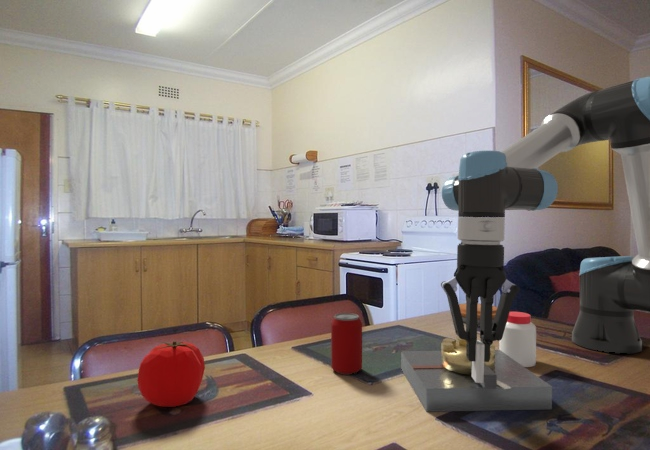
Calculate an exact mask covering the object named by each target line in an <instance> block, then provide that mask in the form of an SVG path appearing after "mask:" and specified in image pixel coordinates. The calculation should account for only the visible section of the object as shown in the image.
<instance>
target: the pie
mask: <svg viewBox="0 0 650 450" xmlns="http://www.w3.org/2000/svg"><path fill="white" fill-rule="evenodd" d="M459 307H460V311H461V315H462V319H463V324H464V323H465V324H466V302H465V303H464V302H463V303H459ZM497 308H498V306H494V305H492V325H493V322H494V318H495V315H496V311H497ZM480 315H481V303H479V302H478V304H477V326H480Z"/></svg>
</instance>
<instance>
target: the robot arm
mask: <svg viewBox="0 0 650 450" xmlns="http://www.w3.org/2000/svg"><path fill="white" fill-rule="evenodd" d="M603 141H609V144H610V149H611V150H612V151H614V152H616V153H618V154H619V155H620V156H621V157H620V158H621V163H622V169H623V170H622V171H623V174H624V175H623V176H624V180H625V187H626V191H627V199H628V202H629V208H630V214H631V220H632V221H631V222H632V226H633V231H634V237H635V243H636V248H637V254H636V255H635V256H633V255H625V256H624V255H621V256H618V255H617V256H605V257H603V256H602V257H601V256H599V257H587V258H586V257H585V258H583V260H582V261H581V262H580V267H579V273H578V276H579V313H578V316H577V318H576V321H575V324H574V326H573V330H572V331H571V342H572V343H574V345H575V344H576V345H577V346H579V347H582V348H584V349H589V350H592V351H597V350H598V351H597V352H602V351H604V352H603V353H609V352H615V353H614V354H620V353H627V354H628V355H629V354H637V353H640V352H642V350H643V341H642V340H643V339H642V338H641V336H640V333H639V330H638V327H637V325H636V322H635V319H634V316H635V315H634V313H635V312H634V311H638V312H644V313H647V314H650V76H646V77H638V78H637V79H634V80H630V81H626V82H623V83H619V84H616V85H612V86H609V87H605V88H602V89H597V90H594V91H590V92H588V93H586V94H584V95H581V96H579V97H577V98H574V99H573V100H571V101H570V102H568V103H566V104H565V105H562V107H560V108H558V109H557V110H556V111H554V112H552V113H550V114H549V115H547V116H546V117H545V118H544V119H543V120H542V121H541V123H540V125H539V126H538V127H537V128H535V129H534V130H532V131H530V133H528V134H526V135H525V136H523V137H522V138H520V139H519V140H517V141H516V142H514V143H512V144H511V145H510V146H508V147H506V148H505V149H504V150H502V151H499V150H476V151H470V152H467V153H464V154H463V155H462V156H461V157H460V161H459V166H458V167H459V168H458V175H456V176H453V177H450V178H448V179H447V180H446V181H445V182H444V183H443V185H442V188H441V199H442V201H443V204H445V206H446V208H448V209H450V210H451V211H457V212H458V213H457V214H458V218H457V239H458V241H460V243H458V244H457V249H456V250H457V252H456V253H457V256H456V270H455V271H454V273H453V277H451V278H450V279H449V280H447V281H442V282H441V283H440V287H441V289H442V290H443V291H444V293H445V294H446V297H447V302H448V307H449V310H450V314H451V319H452V324H453V327H454V332H455V335H457V337H459V338H460V339H464V340H466V342H467V344H466V356H467V359H468V360H469V361H472V375H471V377H472V378H473V379H474V381H475V382H476V383H484V362H489V360H490V345H492V343H493V344H494V342H495V341H499V340H501V339H502V337H503V333H504V330H505V326H506V323H507V319H508V316H509V312H511V308H512V305H513V301H514V299H515V297H516V296H517V294H518V293H519V292H520V291H521V288H520V286H519V285H517V284H515V283H513V282H512V281H510V280H508V279H507V274H506V271H505V270H504V269H505V268H504V267H505V266H504V265H505V246H504V245H503V244H501V242H504V241H505V225H506V224H505V220H506V219H505V217H506V211H516V210H517V211H528V212H529V211H532V212H534V211H540V210H545V209H547V208H549V207H550V206H551V205H552V204H553V203H554V202H555V200H556V199H557V196H558V190H559V188H558V182H557V180H556V178H555V176H554V175H553V174H552V173H550V172H549V171H547V170H542V169H538V168H539V167H542V165H544V164H545V163H546V162H548V161H549V160H551V159H552V158H554V157H555V156H557V155H558V154H560V153H566V152H569V151H571V150H573V149H574V148H576V147H579V146H580V145H581V146H582V145H585V144H590V143H596V142H603ZM457 285H458V286H459V288H461V290H462V291H463V293H464V294H465V301H466V302H465V303H466V323H465V325H464V322H463V319H462V315H461V311H460V307H459V304H460V302H459V299H458V295H457V293H456V292H457V290H458V286H457ZM500 289H501V295H500V298H499V301H498V304H497V311H496V315H495V318H494V322H493V324H492V306H494V305H493V304H494V299H495V297H494V296H496V294H497V293H498V292H499V290H500ZM479 301H480V304H481V315H480V325H479V338H480V340H479V339H478V325H477V304H478V303H479Z"/></svg>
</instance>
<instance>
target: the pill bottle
mask: <svg viewBox="0 0 650 450" xmlns="http://www.w3.org/2000/svg"><path fill="white" fill-rule="evenodd" d="M531 317H532V316H531V314H529V313H527V312H521V311H510V312H509V316H508V319H507V323H506V326H505V330H504V333H503V337H502V339H501V340H498V341H499V342H498V345H499V346H498V350H501V351H502V352H503V353H505V354H506V355H508V356H509V357H511V358H512V359H513V360H515V361H516V362H518V363H519V364H521V365H522V366H523V367H525V368H531V367H535V366H536V364H537V326H536V325H535V324H534V323H533V322H532V321H531V319H532V318H531Z"/></svg>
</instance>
